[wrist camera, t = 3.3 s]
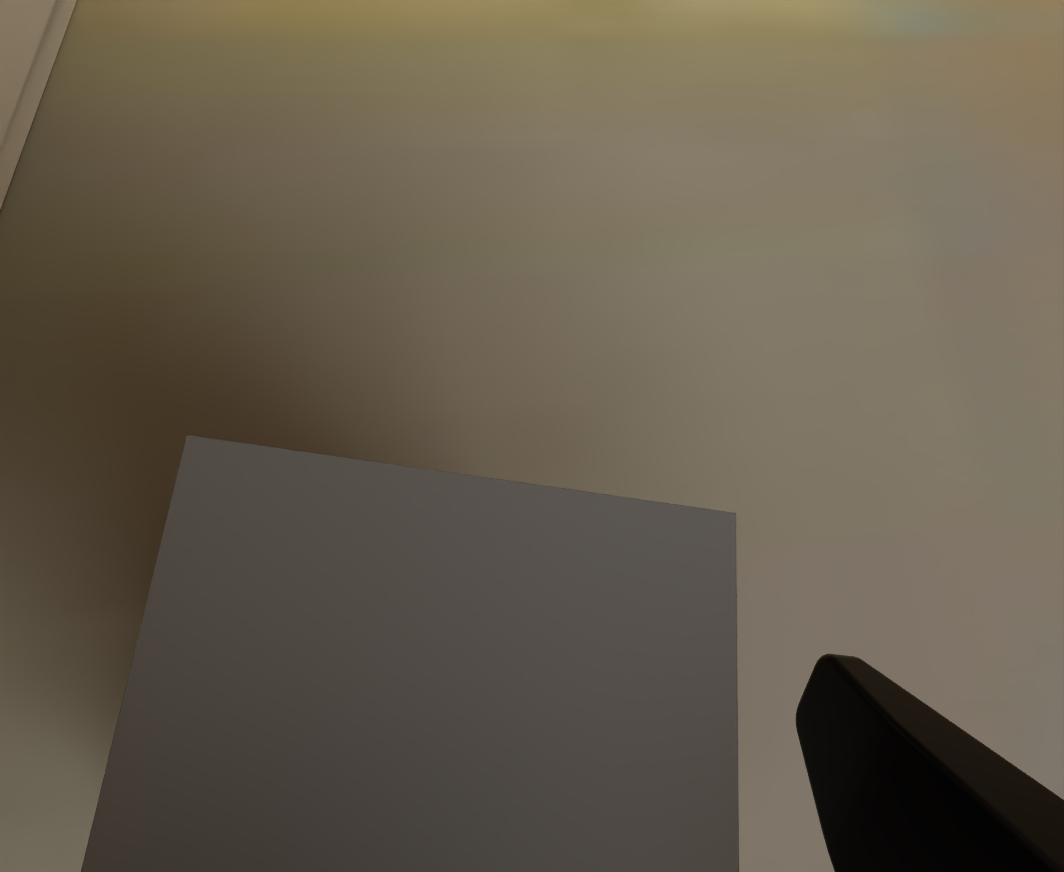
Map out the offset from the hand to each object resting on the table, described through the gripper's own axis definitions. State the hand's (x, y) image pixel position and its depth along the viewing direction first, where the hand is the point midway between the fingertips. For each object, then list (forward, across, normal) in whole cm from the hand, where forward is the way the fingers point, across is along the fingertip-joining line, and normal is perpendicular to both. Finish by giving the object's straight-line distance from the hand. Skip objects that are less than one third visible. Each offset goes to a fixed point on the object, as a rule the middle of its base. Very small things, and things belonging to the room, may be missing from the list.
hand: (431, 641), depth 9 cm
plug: (+4, 0, +6) cm, 7 cm away
